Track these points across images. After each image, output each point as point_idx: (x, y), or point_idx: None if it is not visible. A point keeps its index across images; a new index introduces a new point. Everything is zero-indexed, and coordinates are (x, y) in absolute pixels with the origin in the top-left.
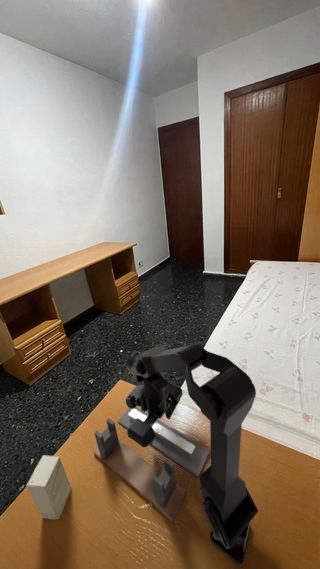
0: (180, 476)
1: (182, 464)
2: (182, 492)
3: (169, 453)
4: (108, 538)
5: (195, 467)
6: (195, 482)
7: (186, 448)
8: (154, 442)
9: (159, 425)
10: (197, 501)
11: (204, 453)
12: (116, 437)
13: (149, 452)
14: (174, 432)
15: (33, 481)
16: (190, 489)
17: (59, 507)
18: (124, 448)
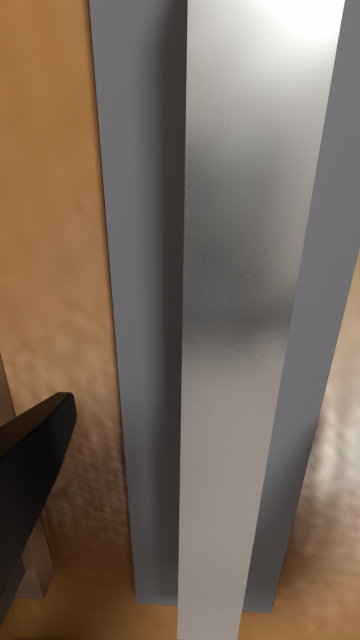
0: (91, 540)
1: (135, 547)
2: (27, 593)
3: (140, 483)
4: None
5: (160, 588)
6: (114, 584)
7: (192, 619)
8: (140, 377)
9: (262, 417)
10: (64, 601)
11: (245, 600)
12: None
13: (73, 366)
14: (288, 456)
15: None
16: (78, 578)
17: None
18: None
